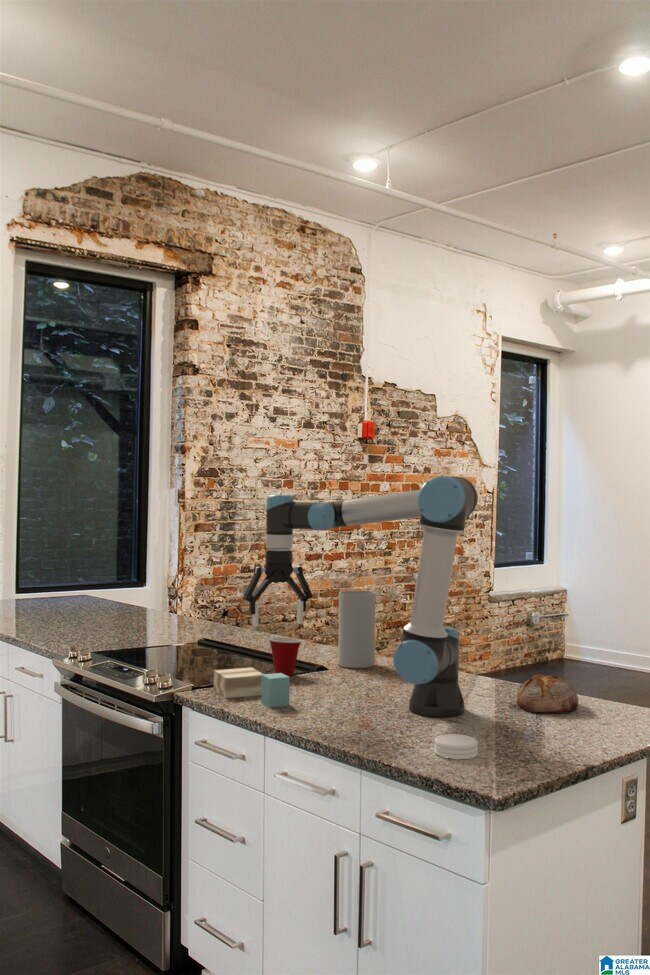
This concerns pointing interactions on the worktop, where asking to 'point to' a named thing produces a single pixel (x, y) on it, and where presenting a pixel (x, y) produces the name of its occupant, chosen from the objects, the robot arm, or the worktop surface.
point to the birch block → (237, 682)
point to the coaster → (456, 746)
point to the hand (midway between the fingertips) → (277, 624)
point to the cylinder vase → (356, 629)
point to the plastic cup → (284, 654)
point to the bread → (547, 695)
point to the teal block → (275, 690)
